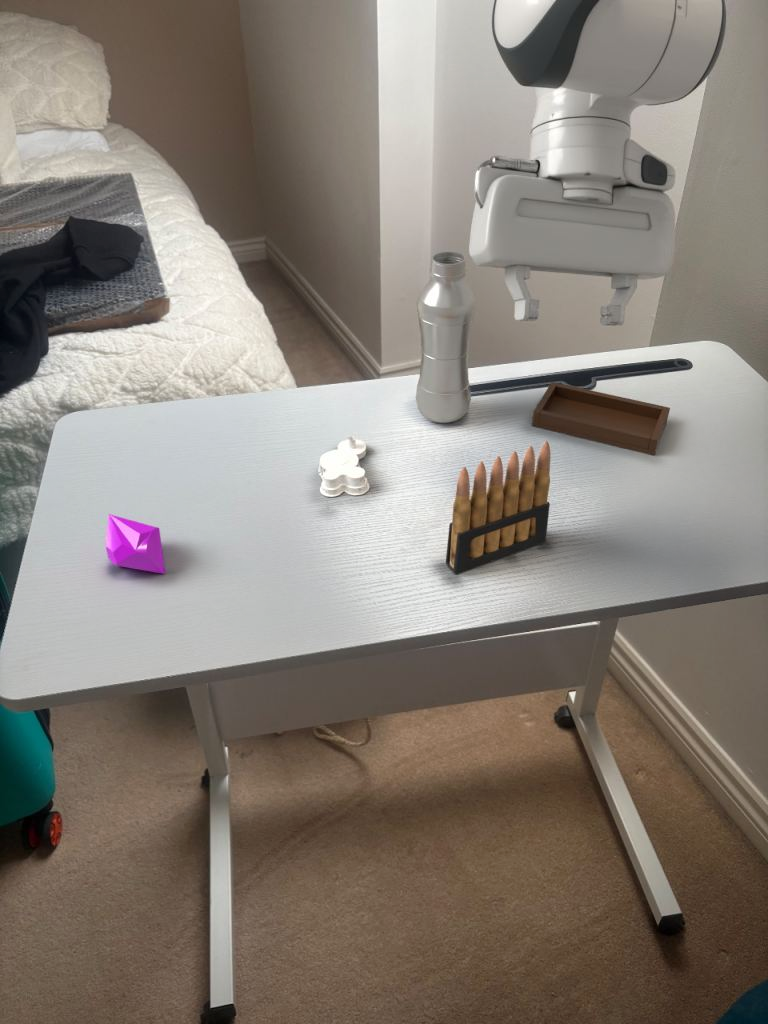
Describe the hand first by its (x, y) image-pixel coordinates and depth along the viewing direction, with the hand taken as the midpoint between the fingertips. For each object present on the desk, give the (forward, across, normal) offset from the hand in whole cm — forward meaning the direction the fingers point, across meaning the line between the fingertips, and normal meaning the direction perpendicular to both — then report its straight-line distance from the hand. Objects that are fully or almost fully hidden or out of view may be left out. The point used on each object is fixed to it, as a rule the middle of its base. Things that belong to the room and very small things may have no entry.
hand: (569, 323), depth 77 cm
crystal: (+24, -37, +17) cm, 47 cm away
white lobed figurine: (+16, -15, +20) cm, 30 cm away
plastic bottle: (+10, 0, +26) cm, 28 cm away
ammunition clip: (+22, -4, +4) cm, 23 cm away
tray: (+10, +16, +17) cm, 26 cm away
